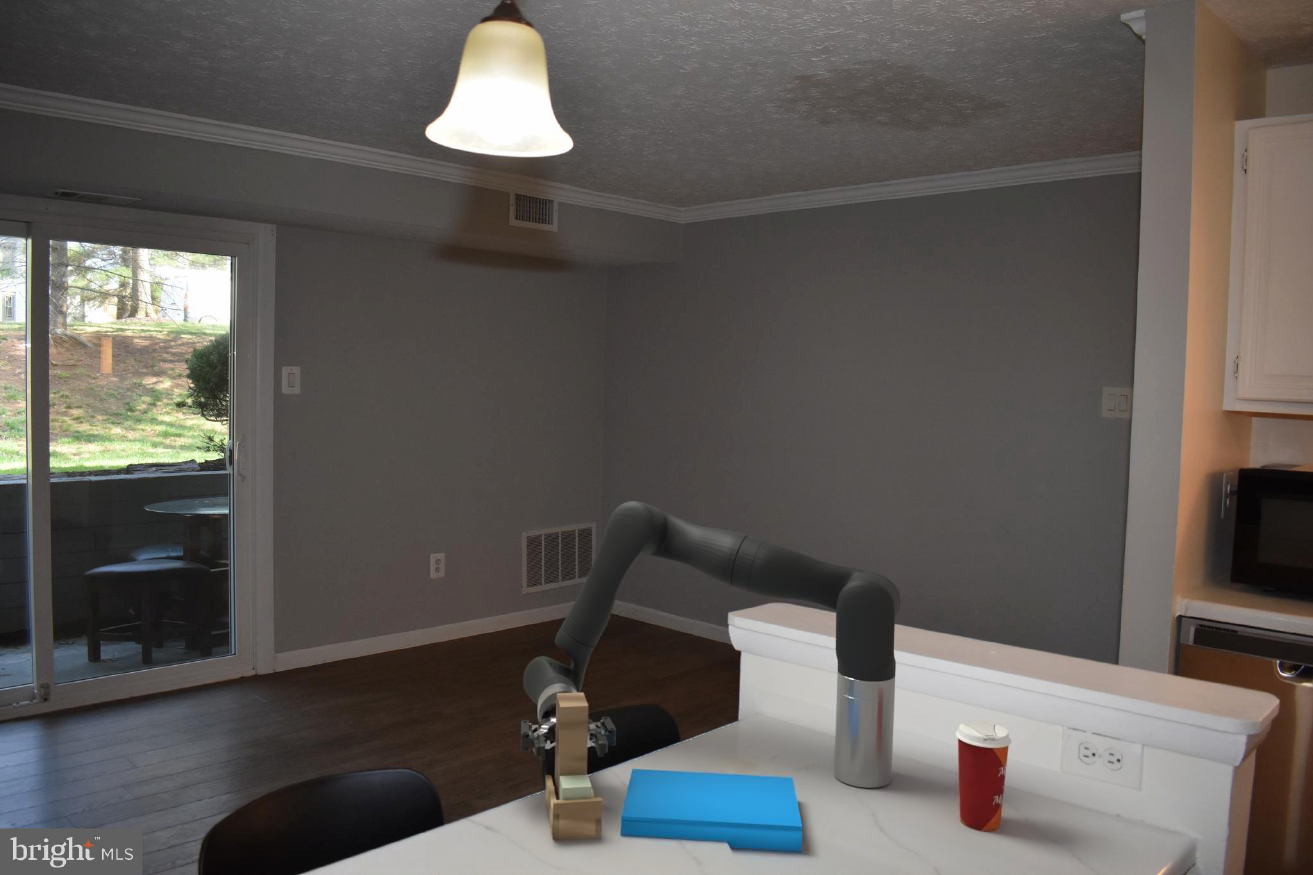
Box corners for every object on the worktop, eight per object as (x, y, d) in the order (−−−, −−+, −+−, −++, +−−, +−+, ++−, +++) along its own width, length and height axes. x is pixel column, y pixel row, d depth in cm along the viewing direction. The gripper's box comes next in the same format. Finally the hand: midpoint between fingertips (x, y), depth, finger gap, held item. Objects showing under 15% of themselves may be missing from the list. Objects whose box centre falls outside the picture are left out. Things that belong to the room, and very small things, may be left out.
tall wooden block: (554, 799, 138) (556, 693, 137) (580, 797, 138) (583, 692, 138) (558, 817, 132) (560, 706, 131) (585, 815, 132) (588, 705, 132)
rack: (545, 804, 138) (546, 765, 138) (589, 801, 139) (589, 762, 139) (552, 846, 125) (553, 803, 125) (600, 843, 126) (601, 800, 126)
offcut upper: (559, 796, 130) (559, 776, 130) (587, 795, 131) (587, 774, 131) (561, 809, 126) (562, 788, 126) (590, 807, 127) (591, 786, 127)
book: (630, 768, 143) (792, 774, 142) (630, 795, 144) (791, 801, 142) (620, 818, 126) (804, 825, 125) (620, 849, 127) (803, 856, 125)
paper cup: (1015, 835, 132) (1019, 739, 131) (961, 833, 132) (965, 737, 131) (996, 811, 140) (1000, 720, 139) (945, 809, 140) (949, 718, 139)
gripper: (517, 691, 147) (523, 728, 131) (605, 688, 150) (621, 723, 134) (516, 738, 147) (522, 780, 131) (604, 733, 150) (620, 774, 134)
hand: (572, 751), depth 133 cm, fingers open, 8 cm apart
